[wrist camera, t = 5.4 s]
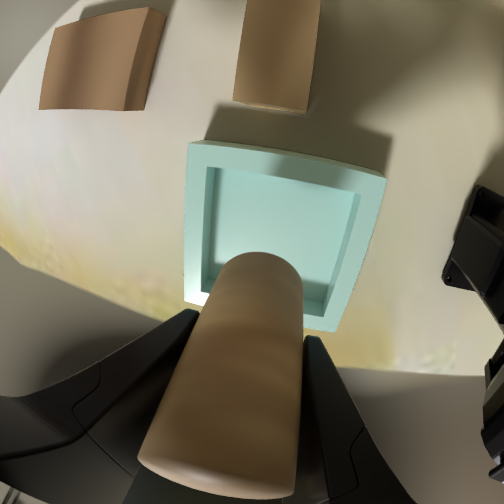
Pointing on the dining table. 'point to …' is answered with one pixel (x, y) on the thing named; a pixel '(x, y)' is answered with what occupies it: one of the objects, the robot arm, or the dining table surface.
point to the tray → (279, 220)
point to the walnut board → (102, 61)
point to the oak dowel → (236, 387)
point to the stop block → (277, 54)
